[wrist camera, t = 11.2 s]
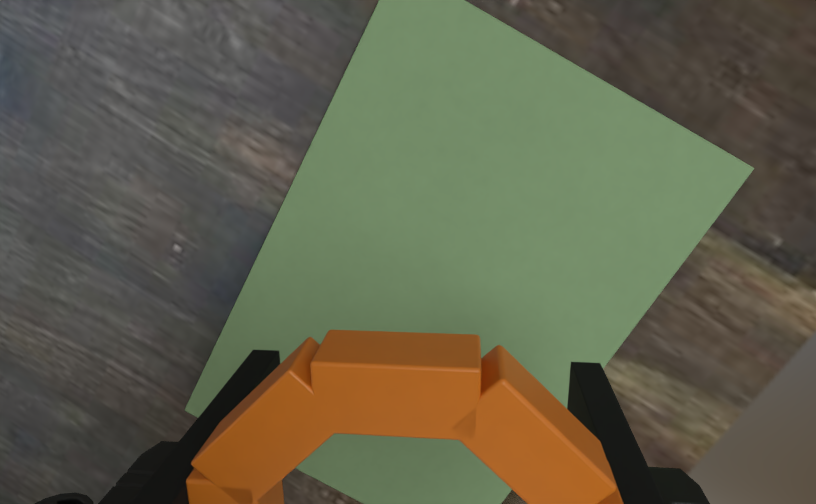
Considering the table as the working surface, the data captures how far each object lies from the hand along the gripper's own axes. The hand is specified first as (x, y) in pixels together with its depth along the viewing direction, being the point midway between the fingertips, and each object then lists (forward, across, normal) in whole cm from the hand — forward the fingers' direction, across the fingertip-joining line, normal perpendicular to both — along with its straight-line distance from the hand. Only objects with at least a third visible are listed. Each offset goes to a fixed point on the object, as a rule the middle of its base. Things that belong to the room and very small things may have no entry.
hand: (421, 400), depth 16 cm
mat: (+7, 0, 0) cm, 7 cm away
